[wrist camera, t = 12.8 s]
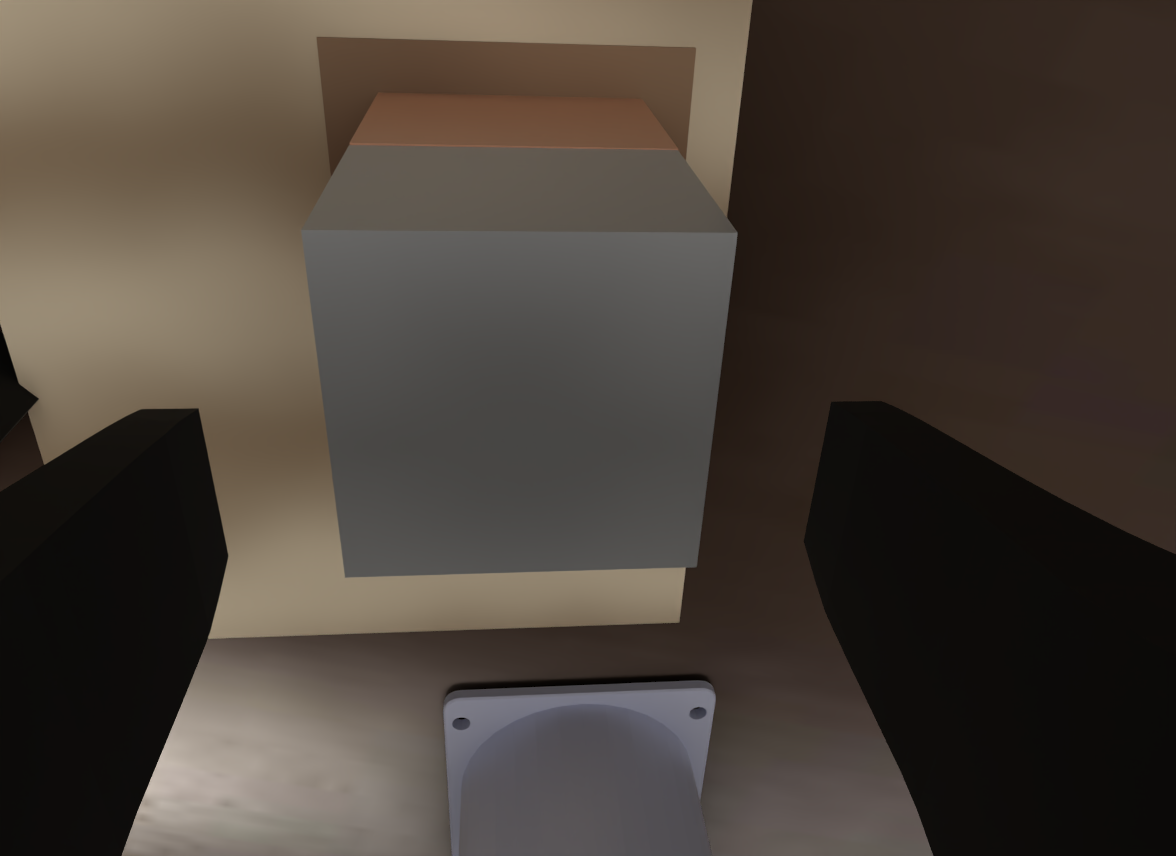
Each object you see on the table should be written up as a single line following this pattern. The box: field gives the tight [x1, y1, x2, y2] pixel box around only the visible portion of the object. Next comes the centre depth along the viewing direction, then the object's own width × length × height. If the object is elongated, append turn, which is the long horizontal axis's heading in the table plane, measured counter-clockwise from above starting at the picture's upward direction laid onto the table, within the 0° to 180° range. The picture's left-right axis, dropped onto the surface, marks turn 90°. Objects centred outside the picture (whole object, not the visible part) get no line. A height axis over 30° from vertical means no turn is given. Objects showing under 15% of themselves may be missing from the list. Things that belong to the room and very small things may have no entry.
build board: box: [0, 0, 752, 639], centre depth 19 cm, size 23×15×1 cm, turn 178°
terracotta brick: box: [350, 92, 678, 150], centre depth 17 cm, size 5×5×4 cm
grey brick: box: [301, 145, 738, 578], centre depth 13 cm, size 5×5×4 cm
